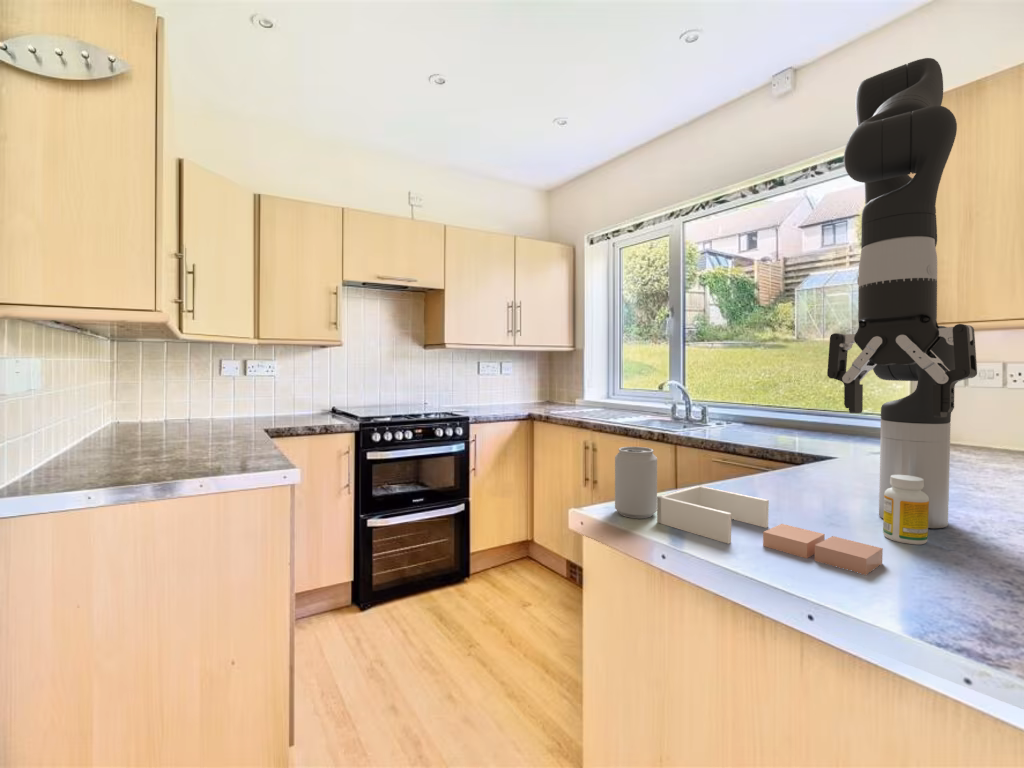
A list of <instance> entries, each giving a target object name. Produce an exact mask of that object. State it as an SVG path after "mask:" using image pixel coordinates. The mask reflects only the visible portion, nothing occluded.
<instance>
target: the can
mask: <svg viewBox="0 0 1024 768" xmlns="http://www.w3.org/2000/svg"><path fill="white" fill-rule="evenodd" d="M657 496H658V457H657V456H656V455H655V454H654V449H653V448H650V447H646V446H645V447H644V446H622V447H619V448H618V453H616V455H614V509H615V510H616V511H617V512H618V513H619V515H621V516H623V517H626V518H630V519H647V518H651V517H653V515H655V513H657Z"/></svg>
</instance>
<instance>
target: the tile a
mask: <svg viewBox="0 0 1024 768" xmlns="http://www.w3.org/2000/svg"><path fill="white" fill-rule="evenodd" d="M762 535H763V536H762V547H766V548H769V549H773V550H775V549H776V551H780V552H782V551H783V553H786V554H790V555H794V556H797V557H800V558H804V559H808V557H809V558H810V557H813V556H815V545H816V544H818V543H820V542H822V541H824V540H826V539H825V533H822V532H817V531H813V530H809V529H804V528H800V527H798V526H793V525H788V524H784V523H780V524H777V525H776V526H774V527H771V528H769V529H767V530H764V531H763V532H762Z"/></svg>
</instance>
